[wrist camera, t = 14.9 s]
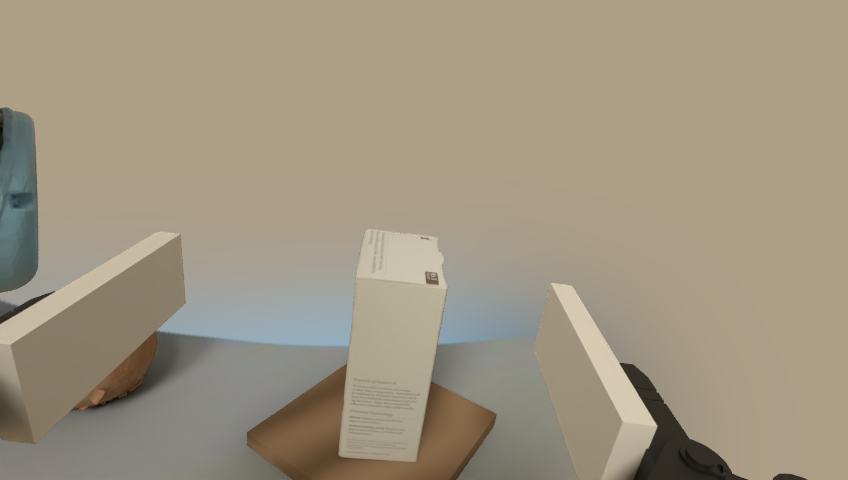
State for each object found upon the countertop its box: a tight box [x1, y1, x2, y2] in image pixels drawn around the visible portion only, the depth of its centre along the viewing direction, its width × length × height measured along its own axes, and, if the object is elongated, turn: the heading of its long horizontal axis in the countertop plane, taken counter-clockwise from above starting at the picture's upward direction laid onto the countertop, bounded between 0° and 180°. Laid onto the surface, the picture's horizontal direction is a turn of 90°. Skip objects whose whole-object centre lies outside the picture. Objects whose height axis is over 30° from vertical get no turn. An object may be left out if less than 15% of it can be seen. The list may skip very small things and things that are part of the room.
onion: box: [71, 331, 157, 411], centre depth 35 cm, size 10×9×10 cm
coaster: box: [247, 364, 496, 480], centre depth 35 cm, size 14×14×1 cm
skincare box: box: [338, 229, 448, 462], centre depth 33 cm, size 8×6×15 cm
